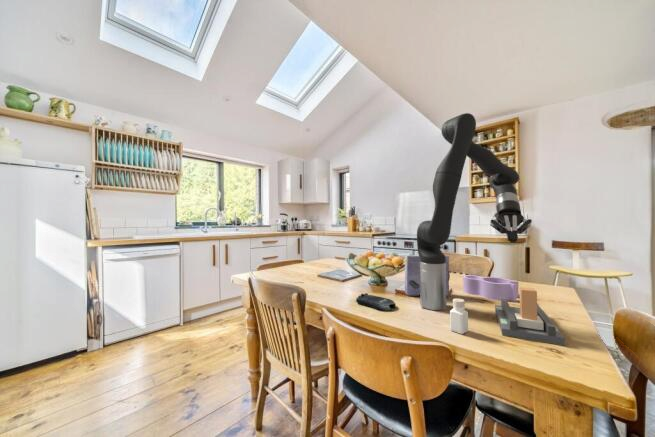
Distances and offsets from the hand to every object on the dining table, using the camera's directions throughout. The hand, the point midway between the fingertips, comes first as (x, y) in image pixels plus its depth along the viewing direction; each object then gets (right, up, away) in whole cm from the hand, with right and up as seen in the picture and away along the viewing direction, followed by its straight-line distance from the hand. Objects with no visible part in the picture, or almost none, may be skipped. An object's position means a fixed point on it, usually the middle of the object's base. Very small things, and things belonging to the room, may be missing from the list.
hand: (513, 241), depth 90 cm
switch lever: (-5, -24, -13) cm, 27 cm away
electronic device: (-44, -27, +14) cm, 54 cm away
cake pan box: (-20, -26, +26) cm, 42 cm away
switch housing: (-2, -26, -7) cm, 27 cm away
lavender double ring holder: (+7, -26, +24) cm, 36 cm away
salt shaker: (-24, -27, -10) cm, 37 cm away
